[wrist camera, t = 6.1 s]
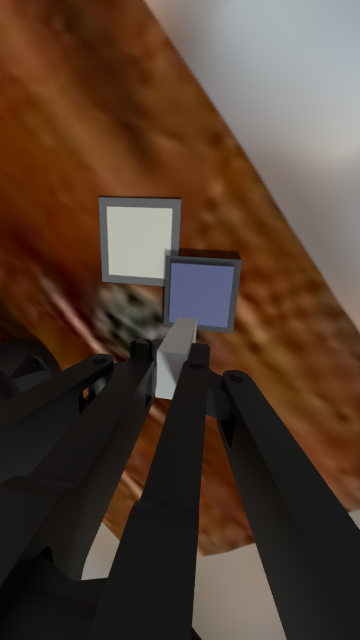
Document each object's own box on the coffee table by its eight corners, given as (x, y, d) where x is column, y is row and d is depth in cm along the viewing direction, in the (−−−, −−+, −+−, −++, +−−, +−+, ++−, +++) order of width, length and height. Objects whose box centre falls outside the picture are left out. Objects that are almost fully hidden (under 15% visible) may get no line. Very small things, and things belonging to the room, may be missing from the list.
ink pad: (165, 323, 37) (162, 327, 36) (167, 255, 34) (165, 255, 32) (232, 330, 36) (232, 334, 34) (241, 259, 33) (242, 260, 31)
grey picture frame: (103, 281, 37) (102, 281, 37) (99, 197, 33) (98, 197, 33) (177, 286, 35) (176, 287, 35) (181, 199, 32) (181, 199, 31)
